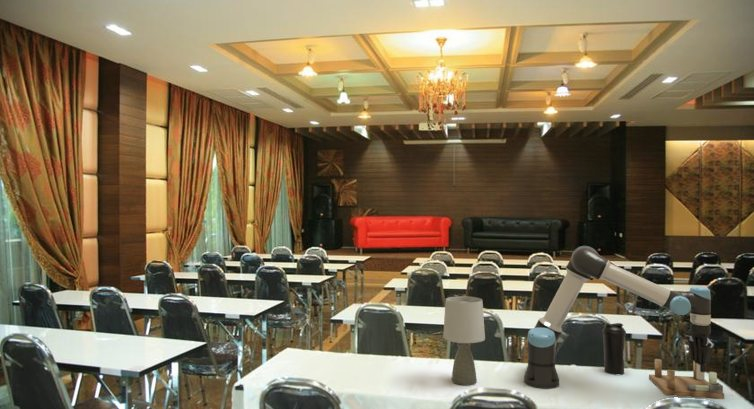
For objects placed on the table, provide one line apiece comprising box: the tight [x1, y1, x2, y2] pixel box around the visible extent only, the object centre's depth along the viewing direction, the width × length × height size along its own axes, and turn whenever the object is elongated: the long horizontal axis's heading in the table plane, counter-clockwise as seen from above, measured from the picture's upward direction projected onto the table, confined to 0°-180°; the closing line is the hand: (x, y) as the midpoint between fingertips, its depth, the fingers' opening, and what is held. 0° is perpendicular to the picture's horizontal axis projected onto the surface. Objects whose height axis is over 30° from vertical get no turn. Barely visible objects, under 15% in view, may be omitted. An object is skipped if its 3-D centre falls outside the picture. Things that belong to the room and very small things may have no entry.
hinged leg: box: [687, 371, 718, 391], centre depth 222 cm, size 11×3×7 cm, turn 79°
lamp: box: [442, 296, 486, 386], centre depth 240 cm, size 19×19×37 cm
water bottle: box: [601, 322, 627, 376], centre depth 254 cm, size 10×10×23 cm
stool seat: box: [648, 358, 725, 400], centre depth 230 cm, size 22×22×10 cm
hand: (700, 378), depth 227 cm, fingers closed
